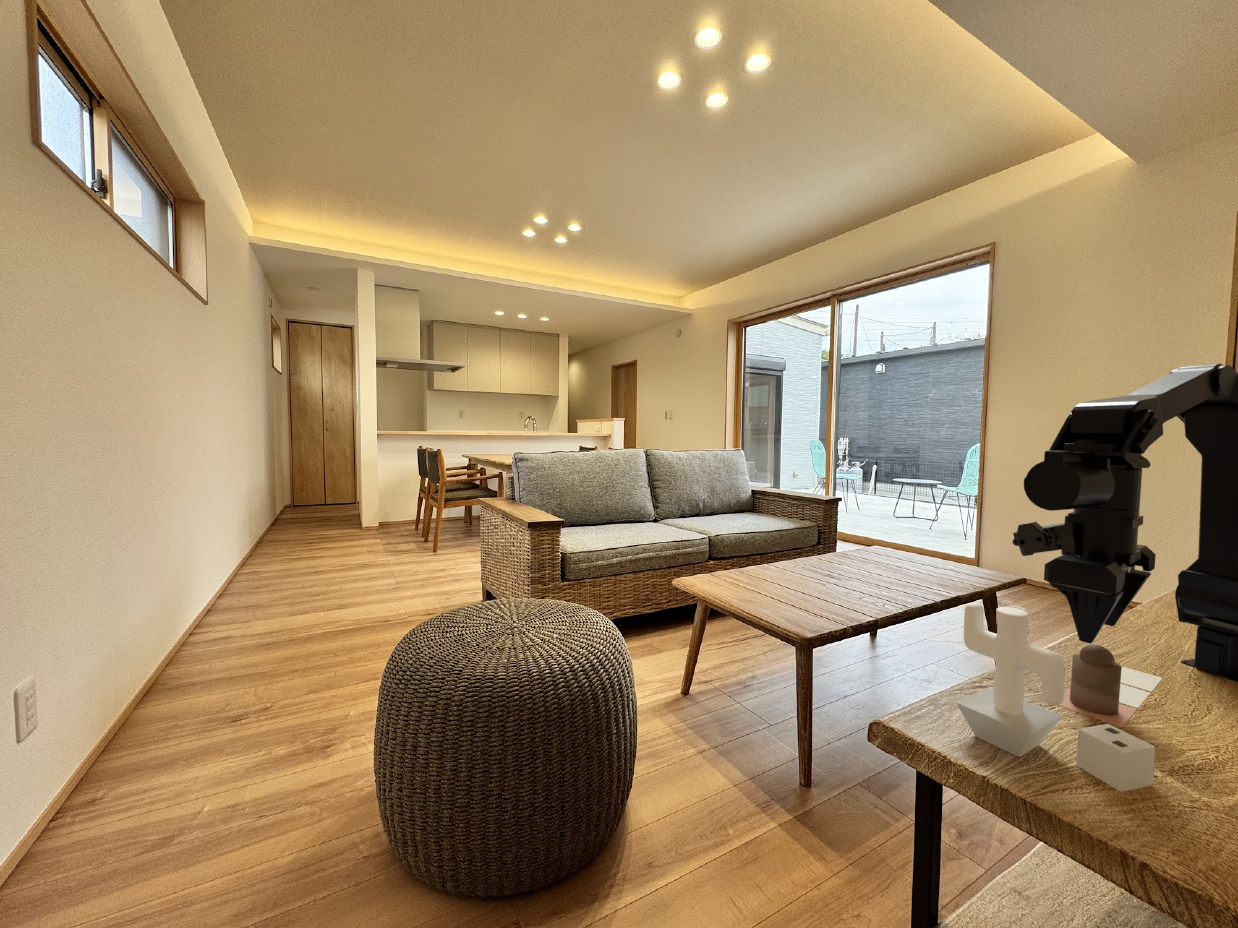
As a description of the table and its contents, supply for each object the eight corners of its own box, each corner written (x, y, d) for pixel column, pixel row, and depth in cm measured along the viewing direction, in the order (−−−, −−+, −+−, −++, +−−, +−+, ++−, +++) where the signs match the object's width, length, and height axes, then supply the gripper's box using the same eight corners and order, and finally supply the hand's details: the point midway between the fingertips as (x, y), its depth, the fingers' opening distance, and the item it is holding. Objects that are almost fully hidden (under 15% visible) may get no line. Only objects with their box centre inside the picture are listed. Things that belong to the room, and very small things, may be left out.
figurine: (1041, 775, 52) (1049, 629, 51) (944, 727, 60) (949, 601, 59) (1074, 753, 55) (1082, 616, 54) (978, 711, 63) (983, 591, 62)
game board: (1094, 660, 77) (1094, 657, 77) (1172, 681, 71) (1172, 678, 71) (1041, 705, 65) (1041, 701, 65) (1129, 736, 58) (1130, 732, 58)
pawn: (1087, 694, 66) (1091, 637, 66) (1127, 713, 62) (1132, 651, 62) (1060, 698, 65) (1064, 639, 65) (1099, 717, 61) (1104, 654, 61)
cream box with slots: (1105, 760, 54) (1108, 722, 54) (1152, 785, 50) (1155, 745, 50) (1076, 765, 53) (1078, 727, 53) (1121, 792, 50) (1124, 751, 49)
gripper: (1049, 493, 74) (1042, 600, 75) (995, 504, 63) (989, 628, 64) (1160, 502, 65) (1151, 624, 66) (1119, 517, 54) (1109, 662, 55)
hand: (1097, 633), depth 63 cm, fingers open, 9 cm apart
